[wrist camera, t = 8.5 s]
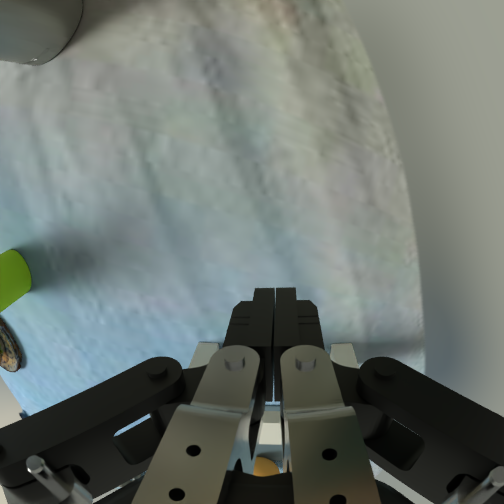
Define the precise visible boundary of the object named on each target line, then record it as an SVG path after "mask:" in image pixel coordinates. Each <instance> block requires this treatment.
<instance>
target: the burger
mask: <svg viewBox="0 0 504 504" xmlns="http://www.w3.org/2000/svg"><path fill="white" fill-rule="evenodd" d="M21 355H22V354H21V352H20V350H19V348H18V345H17V344H16V341H15V340H14V338H13V336H12V334H11V333H10V331H9V329H8V328H7V327H6V325H5V323H4V322H3V320H2V319H1V318H0V366H1V367H3V368H4V369H5V370H7V371H9V372H16V371H18V370H19V369H20V366H21V365H20V362H21V361H22V356H21Z"/></svg>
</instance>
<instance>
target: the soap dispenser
mask: <svg viewBox="0 0 504 504" xmlns="http://www.w3.org/2000/svg"><path fill="white" fill-rule="evenodd" d="M30 288H31V274H30V271H29V268H28V266H27V263H26V262H25V260H24V258H23V257H22V256H21V255H20V254H19V253H18V252H17V251H15V250H7V251H6V252H4V253H2V254H0V313H1V312H2V311H3V310H4V309H6V308H7V307H8V306H10V305H11V304H12V303H14V302H15V301H16V300H18V299H19V298H20V297H22V296H23V295H24V294H26V293H27V292H28V291H29V290H30Z"/></svg>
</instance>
